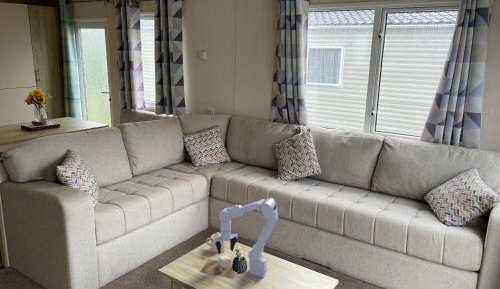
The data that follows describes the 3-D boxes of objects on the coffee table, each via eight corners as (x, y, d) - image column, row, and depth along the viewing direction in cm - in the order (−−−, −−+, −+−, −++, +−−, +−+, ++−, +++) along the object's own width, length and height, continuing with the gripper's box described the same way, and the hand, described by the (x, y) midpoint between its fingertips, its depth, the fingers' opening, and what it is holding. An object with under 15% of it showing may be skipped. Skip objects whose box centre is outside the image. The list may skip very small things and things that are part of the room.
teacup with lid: (227, 248, 248) (227, 230, 245) (222, 255, 239) (222, 237, 236) (209, 245, 251) (209, 228, 248) (203, 252, 242) (203, 234, 239)
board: (241, 266, 227) (241, 260, 226) (233, 280, 214) (233, 273, 213) (209, 260, 233) (209, 254, 232) (199, 273, 220) (199, 267, 219)
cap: (227, 261, 230) (227, 254, 229) (230, 266, 226) (231, 258, 225) (219, 263, 228) (219, 256, 226) (222, 268, 223) (222, 260, 222)
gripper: (234, 224, 228) (233, 245, 231) (210, 229, 221) (210, 251, 225) (239, 229, 222) (239, 251, 225) (215, 234, 215) (215, 257, 219)
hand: (225, 251), depth 225 cm, fingers open, 7 cm apart
